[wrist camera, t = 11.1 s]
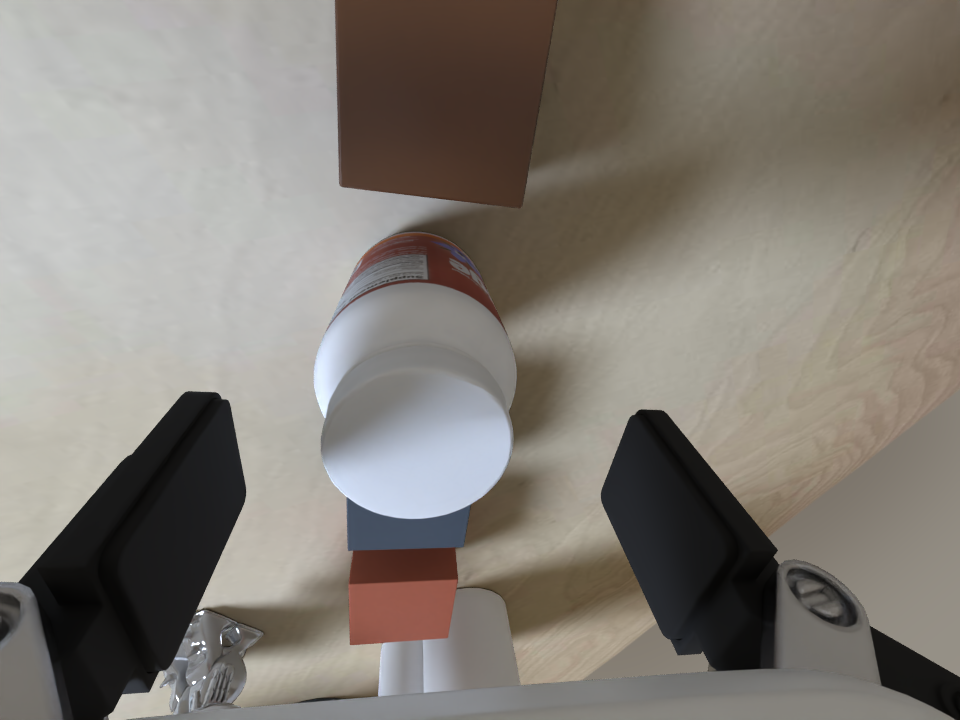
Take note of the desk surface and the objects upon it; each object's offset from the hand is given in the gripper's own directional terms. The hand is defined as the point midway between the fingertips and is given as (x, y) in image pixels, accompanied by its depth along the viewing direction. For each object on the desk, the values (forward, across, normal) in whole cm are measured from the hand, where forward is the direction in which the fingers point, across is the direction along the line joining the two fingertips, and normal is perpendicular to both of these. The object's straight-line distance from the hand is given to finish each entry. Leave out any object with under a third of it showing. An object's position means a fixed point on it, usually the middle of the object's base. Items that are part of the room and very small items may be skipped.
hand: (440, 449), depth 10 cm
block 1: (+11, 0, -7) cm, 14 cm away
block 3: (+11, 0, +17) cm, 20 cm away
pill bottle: (+11, +1, 0) cm, 11 cm away
